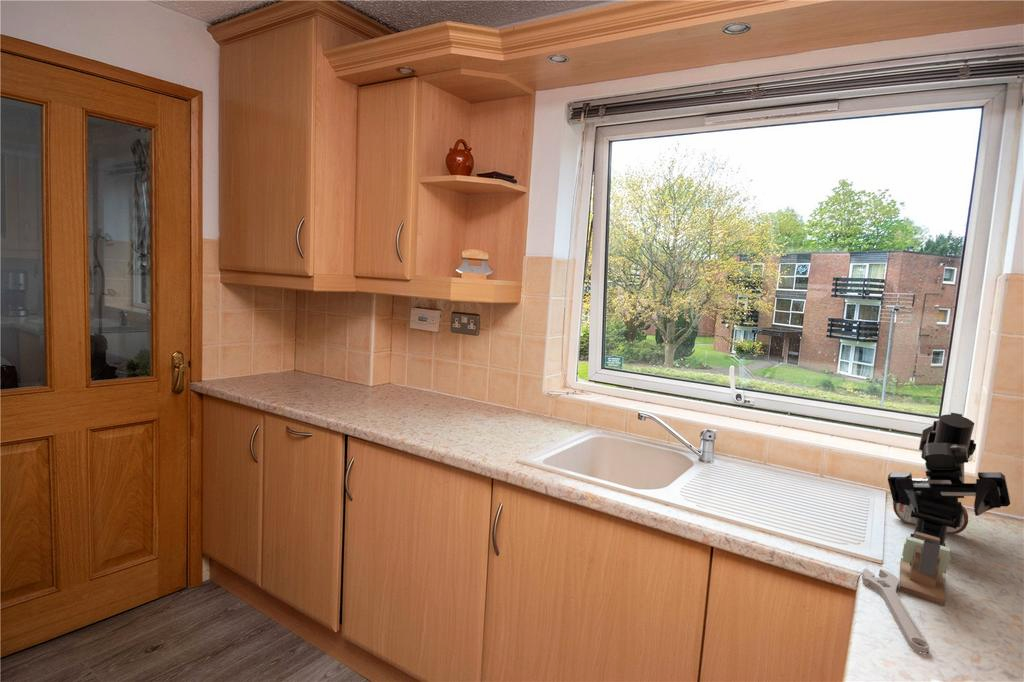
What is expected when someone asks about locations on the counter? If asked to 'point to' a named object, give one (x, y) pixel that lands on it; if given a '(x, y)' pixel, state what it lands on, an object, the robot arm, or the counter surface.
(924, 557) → the shaft
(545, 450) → the counter surface
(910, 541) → the spacer
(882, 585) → the adjustable wrench
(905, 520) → the tin
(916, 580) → the stand
